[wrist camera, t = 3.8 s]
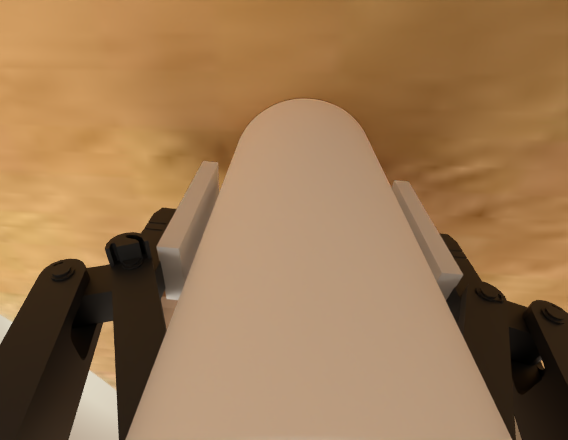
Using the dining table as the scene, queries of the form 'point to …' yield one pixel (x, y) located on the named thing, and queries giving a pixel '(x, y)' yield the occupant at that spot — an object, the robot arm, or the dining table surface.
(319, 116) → the cup
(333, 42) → the dining table surface
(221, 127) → the dining table surface
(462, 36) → the dining table surface
